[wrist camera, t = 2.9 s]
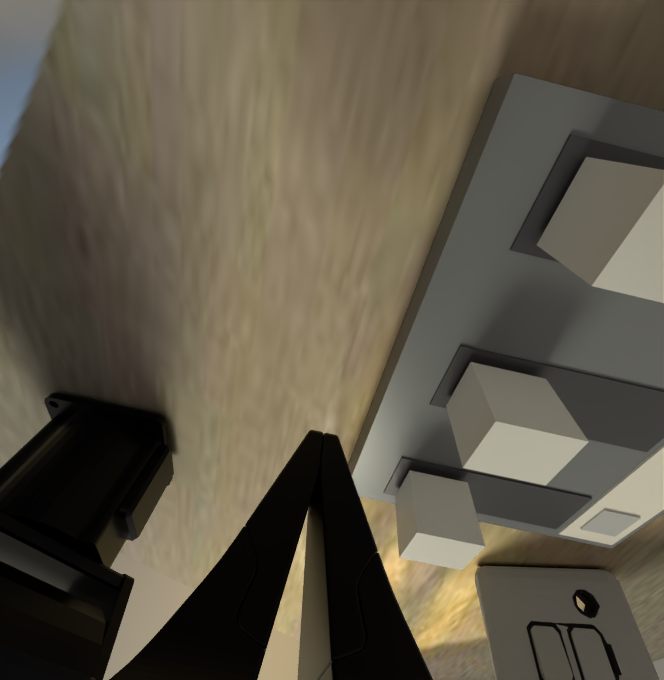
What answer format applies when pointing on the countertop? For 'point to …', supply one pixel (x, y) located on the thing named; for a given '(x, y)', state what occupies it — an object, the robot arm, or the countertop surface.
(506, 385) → the switch tab
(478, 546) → the switch tab
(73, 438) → the robot arm
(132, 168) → the countertop surface
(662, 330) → the switch housing
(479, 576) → the electrical switch
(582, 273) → the switch tab
